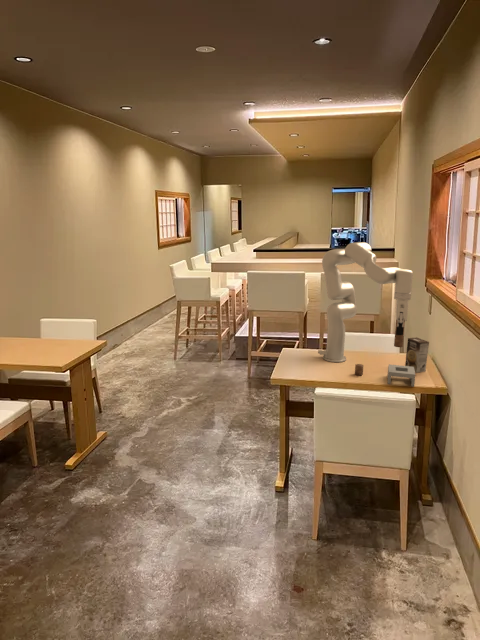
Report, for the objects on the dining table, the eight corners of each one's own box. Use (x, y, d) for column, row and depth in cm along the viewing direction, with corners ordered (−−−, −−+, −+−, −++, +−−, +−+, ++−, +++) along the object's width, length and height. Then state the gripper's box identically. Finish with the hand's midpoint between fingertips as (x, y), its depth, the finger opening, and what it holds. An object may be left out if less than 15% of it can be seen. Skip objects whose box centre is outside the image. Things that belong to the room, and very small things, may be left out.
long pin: (393, 346, 240) (396, 316, 237) (393, 344, 244) (396, 314, 240) (402, 347, 239) (405, 316, 236) (402, 345, 243) (405, 315, 239)
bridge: (387, 383, 241) (388, 371, 240) (387, 375, 252) (388, 364, 251) (414, 386, 238) (415, 374, 237) (412, 378, 249) (413, 366, 248)
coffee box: (404, 367, 266) (407, 337, 262) (413, 366, 268) (416, 336, 264) (416, 372, 257) (419, 342, 254) (426, 371, 260) (429, 341, 256)
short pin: (354, 375, 252) (355, 366, 250) (354, 373, 255) (355, 363, 254) (362, 376, 251) (363, 366, 249) (362, 373, 254) (363, 364, 253)
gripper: (411, 299, 227) (408, 338, 231) (410, 293, 243) (407, 330, 247) (394, 298, 229) (391, 337, 233) (394, 292, 245) (391, 329, 249)
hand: (399, 333), depth 240 cm, fingers closed on long pin, 4 cm apart
